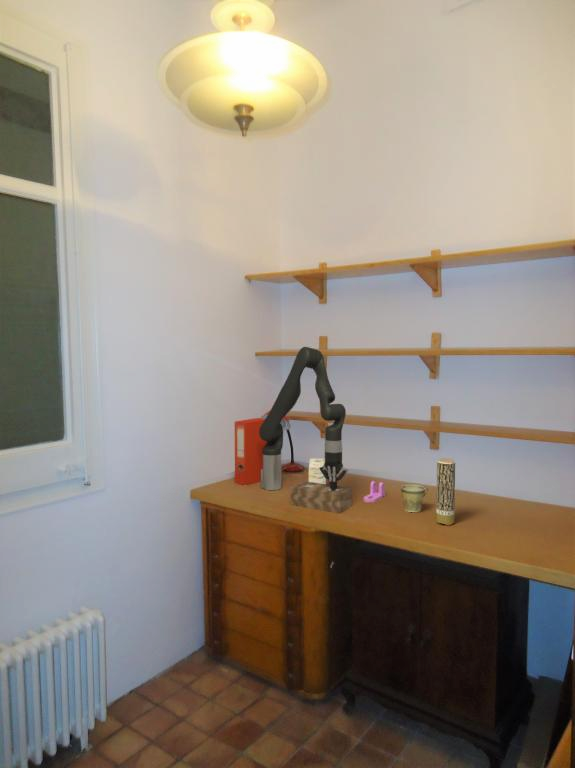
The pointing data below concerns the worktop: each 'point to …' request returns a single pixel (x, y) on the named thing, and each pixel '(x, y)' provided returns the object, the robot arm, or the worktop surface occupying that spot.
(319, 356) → the robot arm
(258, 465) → the file binder
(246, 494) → the worktop surface
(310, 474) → the ink cartridge box
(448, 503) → the paper tube
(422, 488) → the ceramic cup
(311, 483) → the walnut block
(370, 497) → the bracket
